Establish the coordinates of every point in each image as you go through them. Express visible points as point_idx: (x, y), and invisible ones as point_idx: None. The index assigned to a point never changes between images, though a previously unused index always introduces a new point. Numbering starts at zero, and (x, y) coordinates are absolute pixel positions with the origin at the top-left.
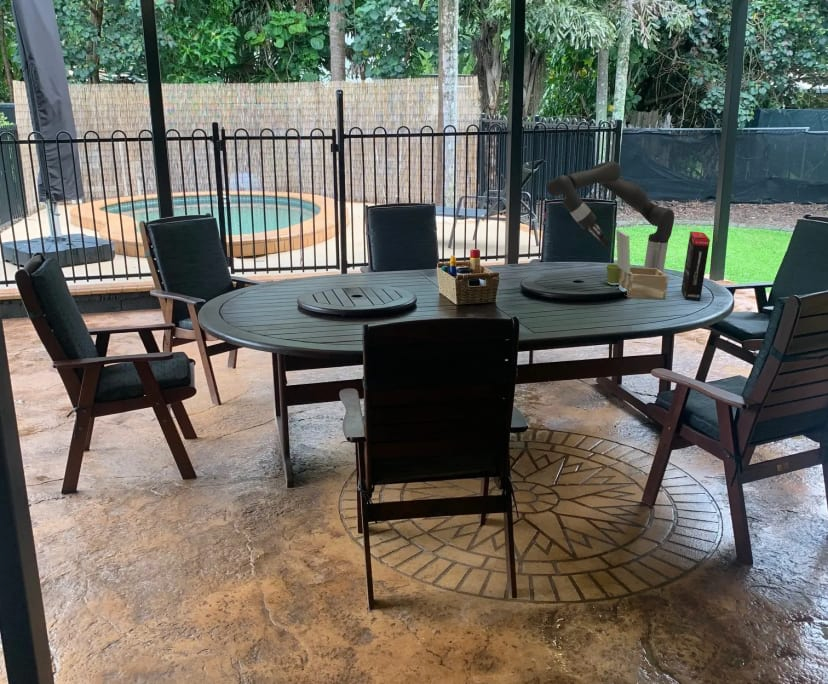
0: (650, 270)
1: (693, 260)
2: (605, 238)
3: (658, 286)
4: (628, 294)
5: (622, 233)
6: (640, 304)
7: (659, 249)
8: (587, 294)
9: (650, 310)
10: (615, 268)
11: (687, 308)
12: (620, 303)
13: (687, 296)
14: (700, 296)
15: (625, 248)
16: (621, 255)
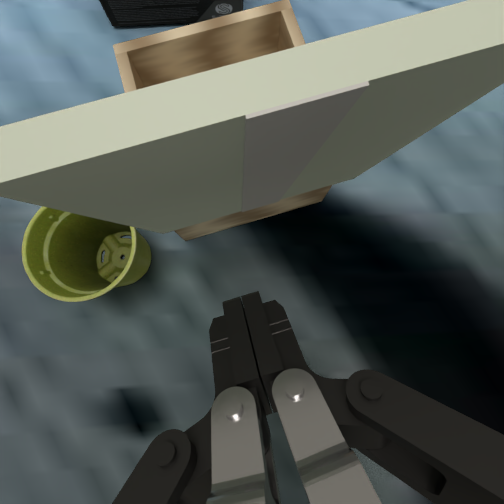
0: (135, 78)
1: None
2: (277, 351)
3: None
4: (323, 196)
5: (363, 75)
6: (406, 158)
7: None
8: (363, 354)
9: (474, 126)
10: (136, 247)
11: (368, 20)
12: (436, 224)
13: (242, 5)
14: None
15: (411, 128)
16: (261, 191)
